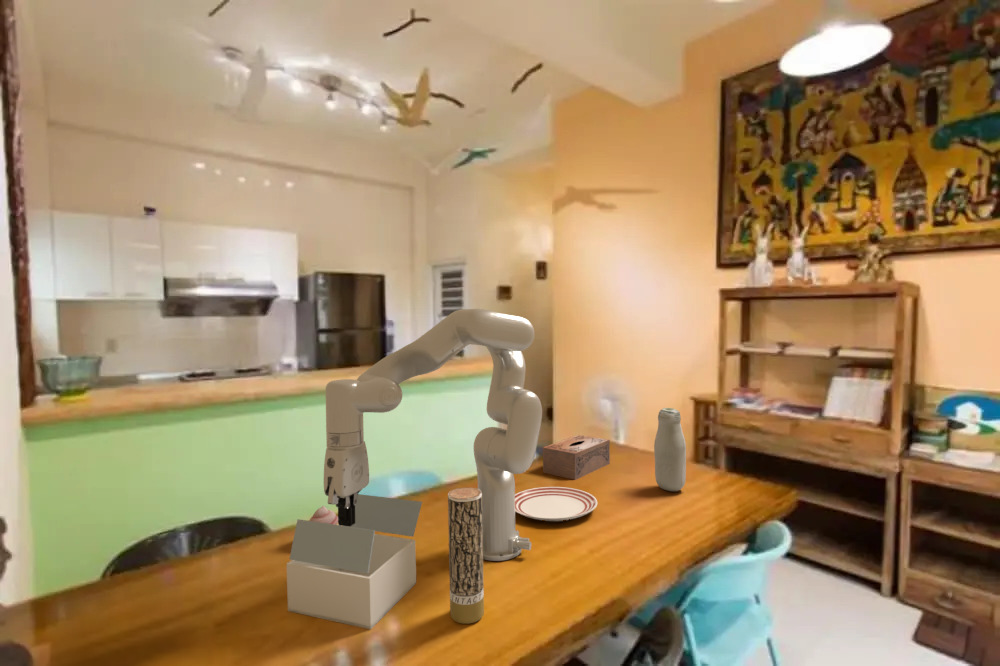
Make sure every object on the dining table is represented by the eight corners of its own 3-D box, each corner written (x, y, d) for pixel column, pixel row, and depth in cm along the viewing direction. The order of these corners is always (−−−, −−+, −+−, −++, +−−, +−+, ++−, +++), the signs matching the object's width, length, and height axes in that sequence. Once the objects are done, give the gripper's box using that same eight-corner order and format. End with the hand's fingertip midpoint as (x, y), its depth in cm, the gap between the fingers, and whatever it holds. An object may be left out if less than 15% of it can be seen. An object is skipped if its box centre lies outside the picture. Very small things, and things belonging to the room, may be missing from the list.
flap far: (412, 536, 116) (413, 536, 117) (421, 501, 120) (422, 502, 120) (343, 526, 123) (343, 526, 123) (353, 493, 127) (354, 493, 127)
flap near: (290, 559, 106) (289, 559, 106) (298, 519, 108) (297, 519, 108) (368, 573, 100) (367, 573, 100) (375, 530, 102) (374, 530, 102)
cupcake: (348, 536, 142) (347, 501, 141) (330, 552, 133) (329, 514, 132) (318, 534, 144) (317, 498, 143) (298, 549, 135) (297, 511, 134)
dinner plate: (494, 521, 152) (494, 510, 151) (525, 491, 177) (525, 481, 177) (586, 534, 141) (586, 522, 141) (605, 500, 167) (605, 490, 166)
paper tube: (450, 607, 107) (448, 488, 106) (483, 605, 107) (481, 486, 106) (450, 626, 100) (447, 500, 99) (484, 624, 100) (482, 498, 100)
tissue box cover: (575, 480, 187) (575, 453, 187) (543, 473, 197) (542, 447, 196) (609, 464, 207) (609, 439, 207) (578, 458, 216) (578, 434, 216)
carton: (416, 583, 116) (415, 539, 116) (370, 629, 100) (369, 578, 99) (342, 569, 123) (341, 528, 123) (288, 611, 106) (286, 563, 106)
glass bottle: (688, 488, 177) (688, 407, 176) (681, 497, 168) (681, 412, 167) (659, 483, 182) (659, 404, 181) (651, 492, 173) (650, 409, 172)
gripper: (337, 448, 100) (339, 541, 101) (380, 432, 114) (381, 513, 115) (306, 445, 103) (308, 536, 103) (351, 429, 117) (353, 509, 117)
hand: (346, 524), depth 109 cm, fingers closed
